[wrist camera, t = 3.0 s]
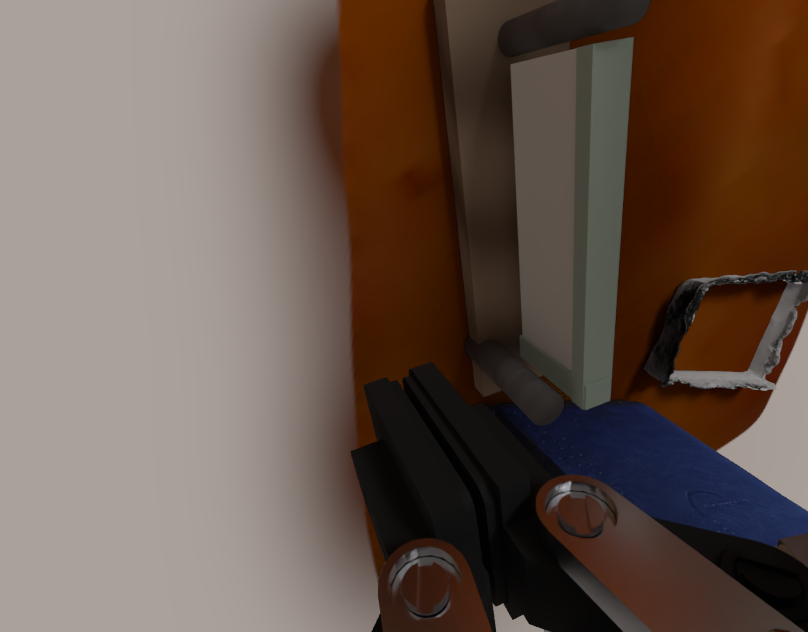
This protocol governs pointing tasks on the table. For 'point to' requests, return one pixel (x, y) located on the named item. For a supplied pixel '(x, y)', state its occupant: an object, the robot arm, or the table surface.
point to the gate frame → (501, 166)
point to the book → (657, 468)
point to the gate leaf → (571, 210)
